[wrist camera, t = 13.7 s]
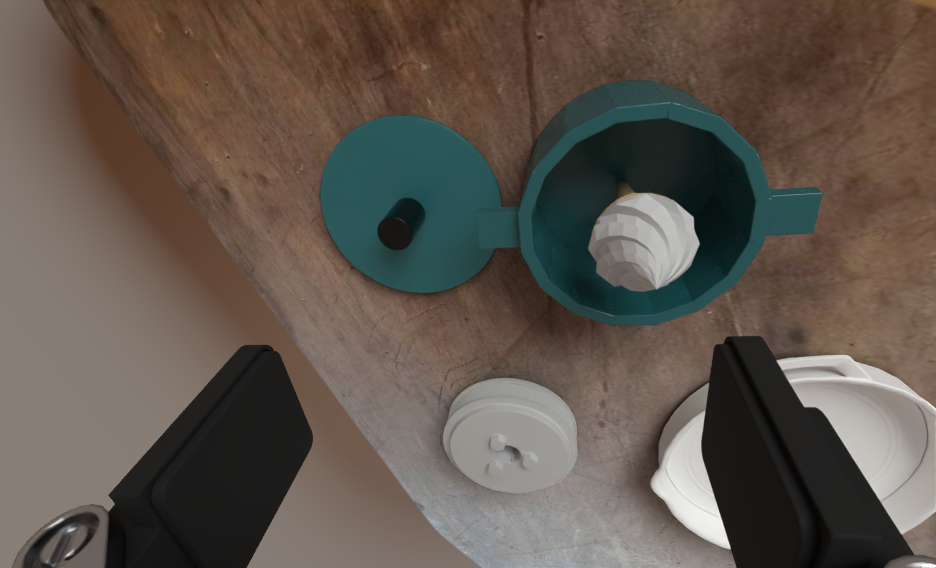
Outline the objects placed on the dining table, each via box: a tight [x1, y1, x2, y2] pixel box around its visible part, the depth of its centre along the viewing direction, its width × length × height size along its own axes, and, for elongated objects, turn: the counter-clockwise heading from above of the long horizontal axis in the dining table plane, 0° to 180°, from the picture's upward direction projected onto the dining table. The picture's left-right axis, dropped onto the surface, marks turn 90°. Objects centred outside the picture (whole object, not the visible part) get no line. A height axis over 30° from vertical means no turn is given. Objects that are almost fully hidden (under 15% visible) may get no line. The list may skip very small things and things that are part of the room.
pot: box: [475, 80, 823, 326], centre depth 32 cm, size 14×19×8 cm
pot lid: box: [320, 115, 503, 293], centre depth 37 cm, size 15×15×5 cm
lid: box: [443, 378, 578, 493], centre depth 47 cm, size 13×13×5 cm
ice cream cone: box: [588, 181, 700, 292], centre depth 28 cm, size 6×6×15 cm
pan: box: [650, 355, 936, 550], centre depth 43 cm, size 24×27×4 cm
